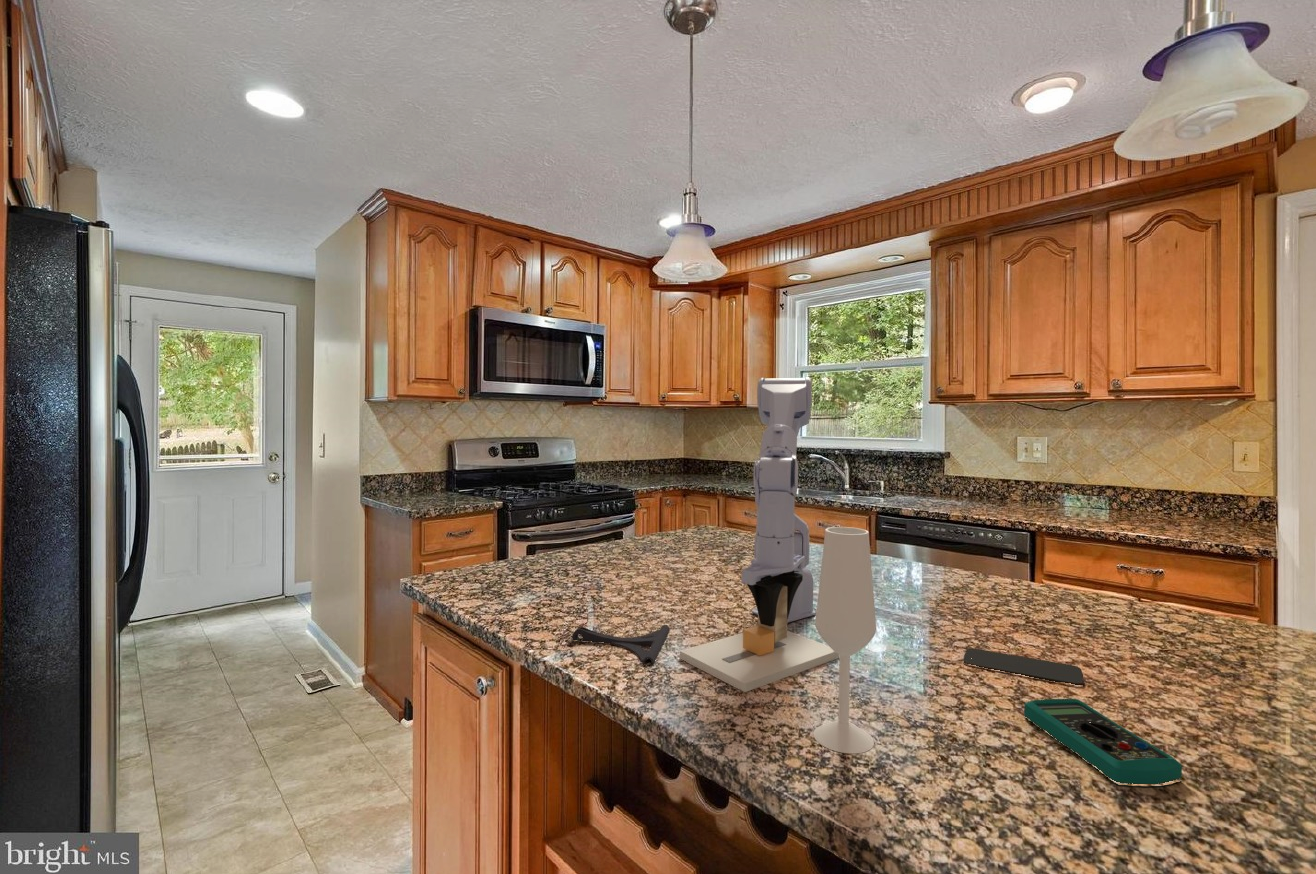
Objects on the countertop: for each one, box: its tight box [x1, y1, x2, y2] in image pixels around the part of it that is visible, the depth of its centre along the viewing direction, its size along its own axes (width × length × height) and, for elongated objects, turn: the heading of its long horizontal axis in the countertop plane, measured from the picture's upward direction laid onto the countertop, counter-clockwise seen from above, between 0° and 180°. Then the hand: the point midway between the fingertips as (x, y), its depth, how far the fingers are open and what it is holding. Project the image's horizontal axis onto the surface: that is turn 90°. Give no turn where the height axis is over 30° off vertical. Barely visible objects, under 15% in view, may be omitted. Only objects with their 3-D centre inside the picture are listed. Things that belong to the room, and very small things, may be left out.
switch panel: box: [679, 630, 839, 693], centre depth 94 cm, size 20×14×1 cm
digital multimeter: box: [1023, 698, 1183, 784], centre depth 69 cm, size 7×15×3 cm, turn 5°
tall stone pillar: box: [757, 586, 788, 643], centre depth 96 cm, size 3×3×8 cm
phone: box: [963, 647, 1084, 685], centre depth 91 cm, size 7×1×15 cm
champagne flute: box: [813, 526, 877, 755], centre depth 71 cm, size 7×7×24 cm
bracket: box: [571, 624, 671, 665], centre depth 100 cm, size 14×15×3 cm
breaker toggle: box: [742, 625, 774, 655], centre depth 94 cm, size 3×4×3 cm
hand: (774, 621), depth 96 cm, fingers closed on tall stone pillar, 3 cm apart
